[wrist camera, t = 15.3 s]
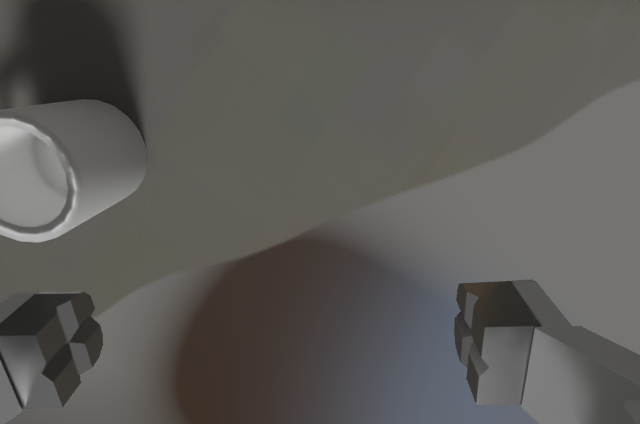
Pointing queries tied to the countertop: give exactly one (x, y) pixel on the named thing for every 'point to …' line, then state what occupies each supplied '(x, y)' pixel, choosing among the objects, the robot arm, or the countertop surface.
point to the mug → (64, 166)
